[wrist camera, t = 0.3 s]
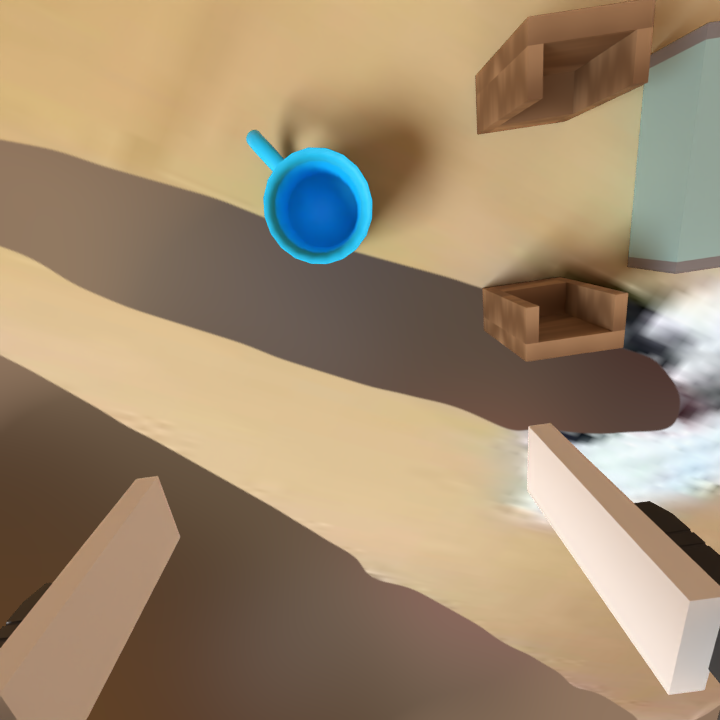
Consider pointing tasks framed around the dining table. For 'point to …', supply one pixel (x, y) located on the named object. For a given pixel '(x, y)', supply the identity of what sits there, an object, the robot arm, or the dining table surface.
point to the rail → (679, 158)
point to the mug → (314, 202)
